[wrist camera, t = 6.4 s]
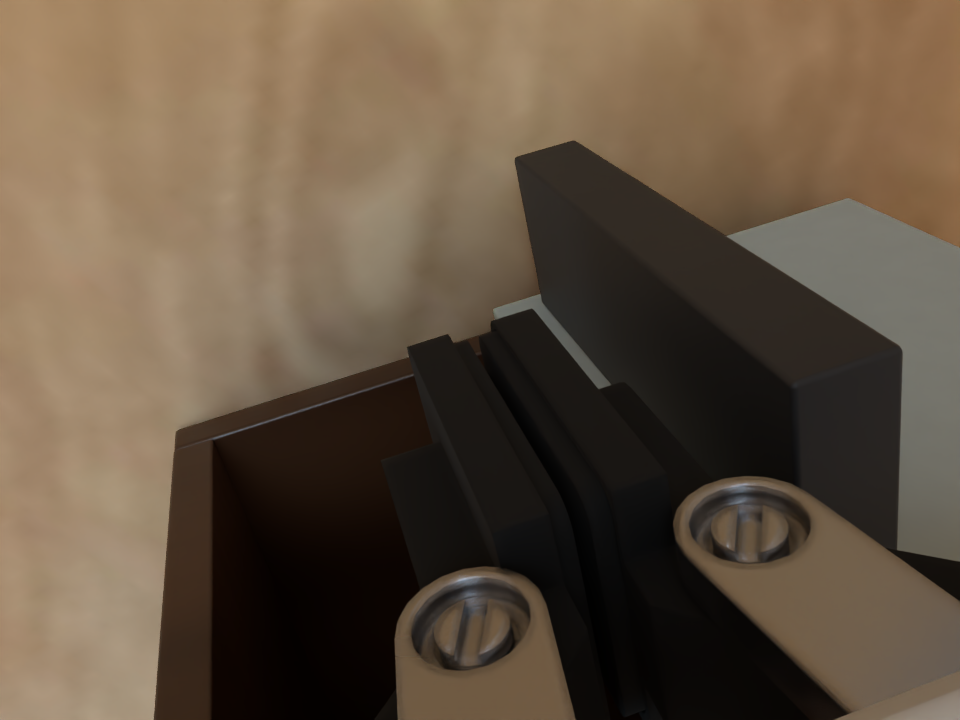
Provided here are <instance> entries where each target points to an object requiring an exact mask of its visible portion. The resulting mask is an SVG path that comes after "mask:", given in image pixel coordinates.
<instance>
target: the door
mask: <svg viewBox="0 0 960 720" xmlns="http://www.w3.org/2000/svg"><path fill="white" fill-rule="evenodd" d="M515 165H516V170H517V175H518V181H519V186H520V191H521V196H522V201H523V206H524V211H525V217H526V222H527V227H528V232H529V237H530V242H531V248H532V253H533V258H534V263H535V268H536V273H537V278H538V284H539V289H540V294H538V295H535V296H532V297H528V298H525V299H522V300H519V301H516V302H512V303H509V304H506V305H503V306H500V307H496V308H494V310H493V314H494V318H495V320H496V319H499V318H502V317H505V316H509V315H512V314H515V313H518V312H521V311H525V310H528V309H531V308H532V309H533V310H534V311H535V312H536V313H537V314H538V315H539V317H540V318H541V319H542V320H543V322H544V323H545V324H546V325H547V326H548V328H549V329H550V330H551V331H552V333H553V334H554V335H555V336H556V337H557V339H558V340H559V341H560V342H561V344H562V345H563V346H564V347H565V349H566V350H567V351H568V352H569V353H570V355H571V356H572V357H573V358H574V360H575V361H576V362H577V363H578V365H579V366H580V367H581V368H582V369H583V371H584V372H585V373H586V374H587V376H588V377H589V378H590V379H591V380H592V382H593V383H594V384H595V385H596V387H597V388H598V389H601V388H604V387H607V386H610V385H613V384H616V383H619V382H625V383H626V384H627V385H628V386H630V387H631V388H632V389H633V390H634V392H635V393H636V394H637V395H638V396H639V397H640V398H641V400H642V401H643V402H644V403H645V404H646V405H647V406H648V407H649V409H650V410H651V411H652V412H653V413H654V414H655V415H656V416H657V418H658V419H659V420H660V421H661V422H662V423H663V424H664V425H665V427H666V428H667V429H668V430H669V431H670V432H671V433H672V435H673V436H674V437H675V438H676V439H677V440H678V441H679V442H680V444H681V445H682V446H683V447H684V448H685V449H686V450H687V451H688V453H689V454H690V455H691V456H692V457H693V458H694V459H695V460H696V462H697V463H698V464H699V465H700V466H701V467H702V468H703V470H704V471H705V472H706V473H707V474H708V475H709V476H710V477H711V479H712V480H713V481H714V482H715V481H718V480H721V479H725V478H733V477H741V476H755V477H769V478H773V479H777V480H780V481H784V482H788V483H791V484H793V485H795V486H796V487H798V488H800V489H802V490H804V491H806V492H808V493H809V494H811V495H812V496H814V497H815V498H816V499H818V500H819V501H820V502H822V503H823V504H825V505H826V506H827V507H829V508H830V509H832V510H833V511H834V512H836V513H837V514H839V515H840V516H841V517H843V518H844V519H846V520H847V521H848V522H850V523H851V524H853V525H854V526H855V527H857V528H858V529H859V530H861V531H862V532H864V533H865V534H866V535H868V536H869V537H871V538H872V539H873V540H875V541H876V542H878V543H879V544H880V545H882V546H883V547H885V548H889V549H894V550H900V551H905V552H911V553H916V554H921V555H927V556H932V557H938V558H943V559H948V560H954V561H959V562H960V248H959V247H957V246H955V245H953V244H951V243H948V242H946V241H944V240H942V239H939V238H937V237H935V236H933V235H931V234H928V233H926V232H924V231H922V230H919V229H917V228H915V227H913V226H910V225H908V224H906V223H904V222H902V221H899V220H897V219H895V218H893V217H890V216H888V215H886V214H884V213H882V212H879V211H877V210H875V209H873V208H870V207H868V206H866V205H864V204H862V203H859V202H857V201H855V200H853V199H850V198H846V199H843V200H840V201H837V202H833V203H830V204H827V205H824V206H820V207H817V208H814V209H811V210H808V211H804V212H801V213H798V214H795V215H792V216H788V217H785V218H782V219H779V220H776V221H772V222H769V223H766V224H763V225H759V226H756V227H753V228H750V229H747V230H743V231H740V232H737V233H734V234H731V235H727V236H725V235H724V234H722V233H720V232H719V231H717V230H716V229H714V228H713V227H711V226H709V225H708V224H706V223H705V222H703V221H701V220H700V219H698V218H697V217H695V216H694V215H692V214H690V213H689V212H687V211H686V210H684V209H682V208H681V207H679V206H678V205H676V204H675V203H673V202H671V201H670V200H668V199H667V198H665V197H663V196H662V195H660V194H659V193H657V192H656V191H654V190H652V189H651V188H649V187H648V186H646V185H644V184H643V183H641V182H640V181H638V180H637V179H635V178H633V177H632V176H630V175H629V174H627V173H625V172H624V171H622V170H621V169H619V168H618V167H616V166H614V165H613V164H611V163H610V162H608V161H606V160H605V159H603V158H602V157H600V156H599V155H597V154H595V153H594V152H592V151H591V150H589V149H588V148H586V147H584V146H583V145H581V144H580V143H578V142H576V141H570V142H566V143H563V144H559V145H556V146H552V147H549V148H546V149H542V150H539V151H535V152H532V153H528V154H525V155H521V156H518V157H516V158H515Z"/></svg>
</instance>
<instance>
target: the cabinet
mask: <svg viewBox="0 0 960 720" xmlns="http://www.w3.org/2000/svg"><path fill="white" fill-rule="evenodd" d="M488 333H491V332H488ZM488 333H485V334H488ZM482 335H484V334H482ZM479 336H481V335H479ZM479 336H475V337H472V338H469V339H466V340H468V342H469V343H470V345H471V346H472V348H473V350H474V351H475V353H476V355H477V356H478V358H479V360H480V361H481V363H482V365H483V366H484V362H483V358H482V354H481V350H480V345H479ZM463 341H465V340H463ZM460 342H462V341H460ZM456 343H459V342H456ZM454 344H455V343H454ZM484 368H485V367H484ZM432 443H433V441H432V437H431V434H430V430H429V427H428V423H427V419H426V416H425V412H424V409H423V405H422V402H421V398H420V394H419V391H418V387H417V384H416V380H415V377H414V373H413V369H412V366H411V362H410V358H406V359H402V360H399V361H396V362H393V363H390V364H387V365H383V366H380V367H377V368H374V369H371V370H368V371H364V372H361V373H358V374H355V375H352V376H349V377H345V378H342V379H339V380H336V381H333V382H329V383H326V384H323V385H320V386H317V387H314V388H310V389H307V390H304V391H301V392H298V393H295V394H291V395H288V396H285V397H282V398H279V399H276V400H272V401H269V402H266V403H263V404H260V405H256V406H253V407H250V408H247V409H244V410H241V411H237V412H234V413H231V414H228V415H225V416H222V417H218V418H215V419H212V420H209V421H206V422H203V423H199V424H196V425H193V426H190V427H187V428H183V429H180V430H178V431H177V432H176V437H175V452H174V458H173V471H172V485H171V498H170V511H169V525H168V538H167V551H166V565H165V578H164V591H163V605H162V618H161V631H160V645H159V658H158V671H157V685H156V698H155V711H154V720H374V719H375V718H376V716H377V715H378V714H379V712H380V711H381V709H382V708H383V707H384V705H385V704H386V702H387V701H388V700H389V698H390V697H391V695H392V694H393V693H394V691H395V690H396V664H395V633H396V627H397V621H398V619H399V618H400V616H401V614H402V612H403V610H404V608H405V607H406V605H407V603H408V602H409V601H410V600H411V599H412V598H413V597H414V596H415V595H416V594H417V593H418V592H419V591H420V587H419V584H418V581H417V577H416V574H415V571H414V568H413V564H412V561H411V558H410V555H409V551H408V548H407V545H406V542H405V538H404V535H403V532H402V528H401V525H400V522H399V519H398V515H397V512H396V509H395V506H394V502H393V499H392V496H391V493H390V489H389V486H388V483H387V480H386V476H385V473H384V470H383V466H382V463H381V460H383V459H386V458H389V457H392V456H395V455H398V454H401V453H404V452H407V451H410V450H413V449H416V448H419V447H423V446H426V445H429V444H432ZM603 683H604V688H605V693H606V698H607V703H608V708H609V713H610V720H642V718H641V716H640V714H639V712H638V713H635V714H633V715H630V716H627V717H623V716H622V714H621V713H620V711H619V709H618V708H617V706H616V704H615V702H614V700H613V698H612V696H611V694H610V692H609V690H608V688H607V686H606V684H605V682H604V680H603Z"/></svg>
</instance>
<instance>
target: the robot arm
mask: <svg viewBox="0 0 960 720" xmlns="http://www.w3.org/2000/svg"><path fill="white" fill-rule="evenodd" d="M479 345H480V350H481V354H482V358H483V362H484V366H483V365H482V363H481V361H480V360H479V358H478V356H477V355H476V353H475V351H474V350H473V348H472V346H471V345H470V343H469V342H468V340H465V341H462V342H459V343H455V344H454V343H453V341H452V340H451V338H450V336H449V335H448V334H447V335H444V336H441V337H437V338H434V339H431V340H428V341H425V342H421V343H418V344H415V345H412V346H408V347H407V350H408V354H409V358H410V362H411V366H412V369H413V373H414V377H415V380H416V384H417V387H418V391H419V394H420V398H421V402H422V405H423V409H424V412H425V416H426V419H427V423H428V427H429V430H430V434H431V437H432V441H433V443H432V444H429V445H426V446H423V447H419V448H416V449H413V450H410V451H407V452H404V453H401V454H398V455H395V456H392V457H389V458H386V459H383V460H381V463H382V466H383V470H384V473H385V476H386V480H387V483H388V486H389V489H390V493H391V496H392V499H393V502H394V506H395V509H396V512H397V515H398V519H399V522H400V525H401V528H402V532H403V535H404V538H405V542H406V545H407V548H408V551H409V555H410V558H411V561H412V564H413V568H414V571H415V574H416V577H417V581H418V584H419V587H420V591H419V592H418V593H417V594H416V595H415V596H414V597H413V598H412V599H411V600H410V601H409V602H408V603H407V605H406V607H405V608H404V610H403V612H402V614H401V616H400V618H399V619H398V621H397V627H396V633H395V664H396V690H395V691H394V693H393V694H392V695H391V697H390V698H389V700H388V701H387V702H386V704H385V705H384V707H383V708H382V709H381V711H380V712H379V714H378V715H377V716H376V718H375V719H374V720H610V713H609V708H608V703H607V698H606V693H605V688H604V683H603V680H604V682H605V684H606V686H607V688H608V690H609V692H610V694H611V696H612V698H613V700H614V702H615V704H616V706H617V708H618V709H619V711H620V713H621V714H622V716H623V717H627V716H630V715H633V714H635V713H638V712H639V714H640V716H641V718H642V720H960V562H959V561H954V560H948V559H943V558H938V557H932V556H927V555H921V554H916V553H911V552H905V551H900V550H894V549H889V548H885V547H883V546H882V545H880V544H879V543H878V542H876V541H875V540H873V539H872V538H871V537H869V536H868V535H866V534H865V533H864V532H862V531H861V530H859V529H858V528H857V527H855V526H854V525H853V524H851V523H850V522H848V521H847V520H846V519H844V518H843V517H841V516H840V515H839V514H837V513H836V512H834V511H833V510H832V509H830V508H829V507H827V506H826V505H825V504H823V503H822V502H820V501H819V500H818V499H816V498H815V497H814V496H812V495H811V494H809V493H808V492H806V491H804V490H802V489H800V488H798V487H796V486H795V485H793V484H791V483H788V482H784V481H780V480H777V479H773V478H769V477H755V476H741V477H733V478H725V479H721V480H718V481H715V482H714V481H713V480H712V479H711V477H710V476H709V475H708V474H707V473H706V472H705V471H704V470H703V468H702V467H701V466H700V465H699V464H698V463H697V462H696V460H695V459H694V458H693V457H692V456H691V455H690V454H689V453H688V451H687V450H686V449H685V448H684V447H683V446H682V445H681V444H680V442H679V441H678V440H677V439H676V438H675V437H674V436H673V435H672V433H671V432H670V431H669V430H668V429H667V428H666V427H665V425H664V424H663V423H662V422H661V421H660V420H659V419H658V418H657V416H656V415H655V414H654V413H653V412H652V411H651V410H650V409H649V407H648V406H647V405H646V404H645V403H644V402H643V401H642V400H641V398H640V397H639V396H638V395H637V394H636V393H635V392H634V390H633V389H632V388H631V387H630V386H628V385H627V384H626V383H625V382H619V383H616V384H613V385H610V386H607V387H604V388H601V389H598V388H597V387H596V385H595V384H594V383H593V382H592V380H591V379H590V378H589V377H588V376H587V374H586V373H585V372H584V371H583V369H582V368H581V367H580V366H579V365H578V363H577V362H576V361H575V360H574V358H573V357H572V356H571V355H570V353H569V352H568V351H567V350H566V349H565V347H564V346H563V345H562V344H561V342H560V341H559V340H558V339H557V337H556V336H555V335H554V334H553V333H552V331H551V330H550V329H549V328H548V326H547V325H546V324H545V323H544V322H543V320H542V319H541V318H540V317H539V315H538V314H537V313H536V312H535V311H534V310H533V309H532V308H531V309H528V310H525V311H521V312H518V313H515V314H512V315H509V316H505V317H502V318H499V319H496V320H492V321H491V333H488V334H484V335H481V336H479ZM484 367H485V368H484Z"/></svg>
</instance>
